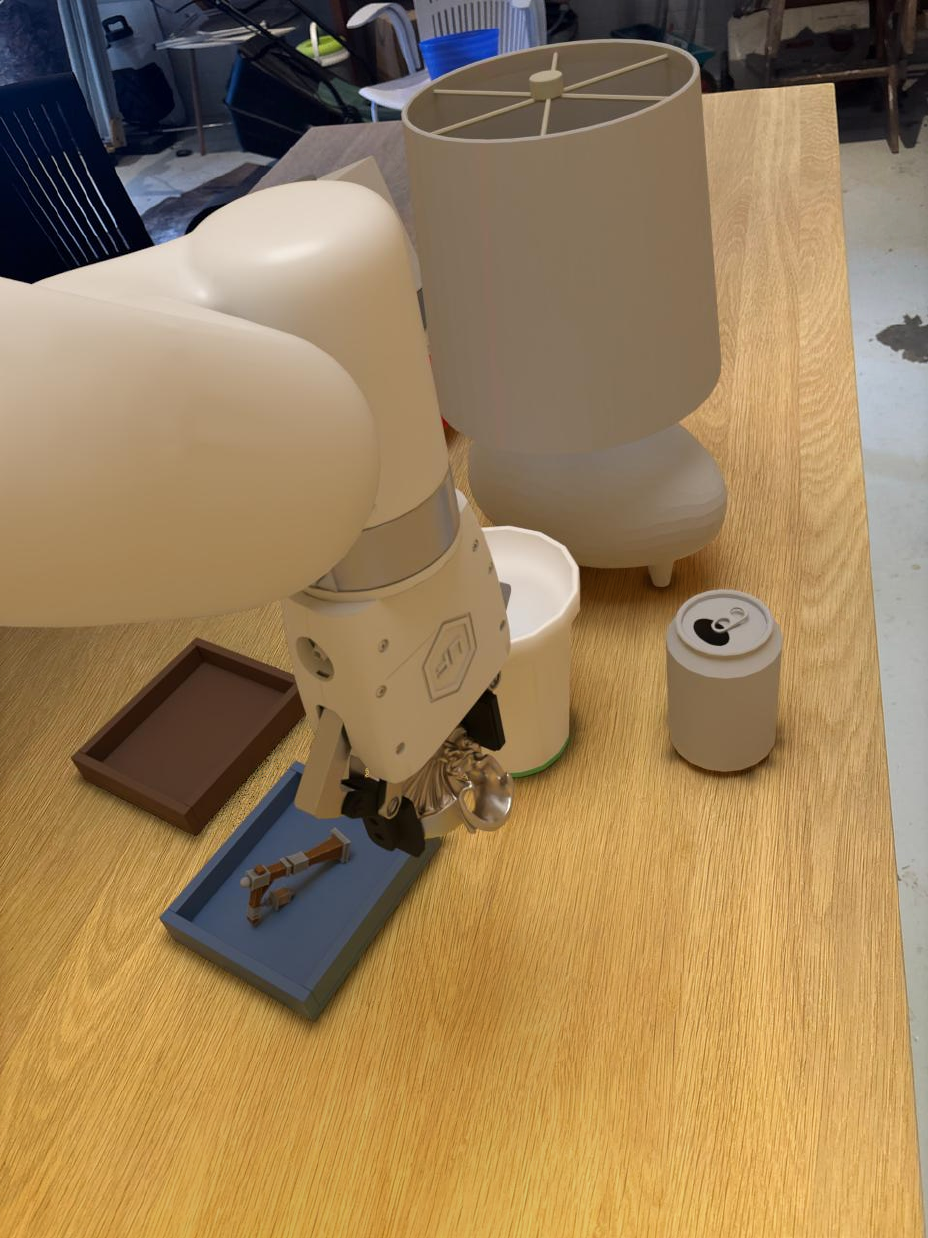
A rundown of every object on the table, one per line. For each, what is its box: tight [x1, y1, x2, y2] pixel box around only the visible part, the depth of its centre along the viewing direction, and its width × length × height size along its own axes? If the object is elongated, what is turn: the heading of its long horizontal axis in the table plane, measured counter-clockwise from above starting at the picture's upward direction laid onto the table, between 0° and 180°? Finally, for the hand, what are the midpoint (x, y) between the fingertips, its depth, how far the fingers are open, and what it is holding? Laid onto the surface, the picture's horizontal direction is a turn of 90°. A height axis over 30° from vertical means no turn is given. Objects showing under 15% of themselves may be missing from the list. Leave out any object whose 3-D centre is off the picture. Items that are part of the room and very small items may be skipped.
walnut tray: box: [70, 636, 306, 836], centre depth 82 cm, size 15×13×3 cm
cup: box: [481, 526, 581, 779], centre depth 73 cm, size 12×12×15 cm
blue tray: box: [158, 760, 442, 1023], centre depth 70 cm, size 15×13×3 cm
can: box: [665, 588, 784, 773], centre depth 70 cm, size 8×8×12 cm
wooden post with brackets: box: [240, 828, 350, 924], centre depth 69 cm, size 2×8×4 cm, turn 133°
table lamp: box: [400, 38, 728, 588], centre depth 77 cm, size 23×22×40 cm
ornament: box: [367, 721, 515, 839], centre depth 52 cm, size 8×7×4 cm
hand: (439, 787), depth 53 cm, fingers closed on ornament, 6 cm apart
